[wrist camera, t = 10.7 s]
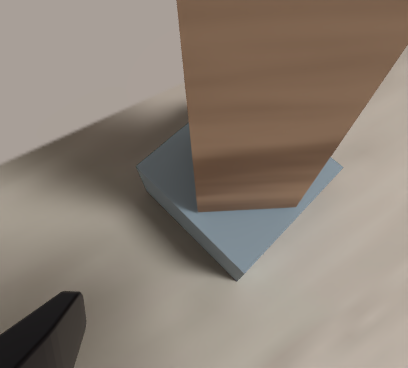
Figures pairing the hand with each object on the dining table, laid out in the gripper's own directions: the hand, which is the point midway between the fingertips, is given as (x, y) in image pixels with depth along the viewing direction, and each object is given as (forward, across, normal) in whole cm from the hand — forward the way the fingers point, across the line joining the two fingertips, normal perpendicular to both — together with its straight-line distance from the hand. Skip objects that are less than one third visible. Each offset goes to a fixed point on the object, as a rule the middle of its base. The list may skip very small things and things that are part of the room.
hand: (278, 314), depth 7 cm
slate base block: (+14, 0, +3) cm, 14 cm away
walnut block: (+11, 0, 0) cm, 11 cm away
